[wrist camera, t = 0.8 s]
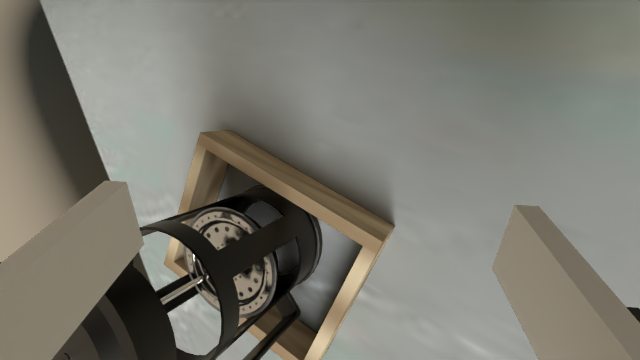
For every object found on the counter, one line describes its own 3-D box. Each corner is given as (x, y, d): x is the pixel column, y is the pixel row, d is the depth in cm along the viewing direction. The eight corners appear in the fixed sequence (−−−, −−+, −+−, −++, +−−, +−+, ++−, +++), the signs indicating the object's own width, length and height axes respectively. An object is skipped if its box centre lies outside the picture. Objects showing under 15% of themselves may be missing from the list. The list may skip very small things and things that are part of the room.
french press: (213, 207, 33) (-221, 358, 13) (281, 156, 29) (-205, 263, 9) (274, 315, 32) (-88, 663, 12) (353, 280, 28) (5, 726, 8)
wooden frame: (228, 130, 31) (200, 132, 28) (394, 226, 26) (382, 242, 23) (191, 251, 36) (163, 264, 32) (326, 352, 31) (308, 379, 27)
